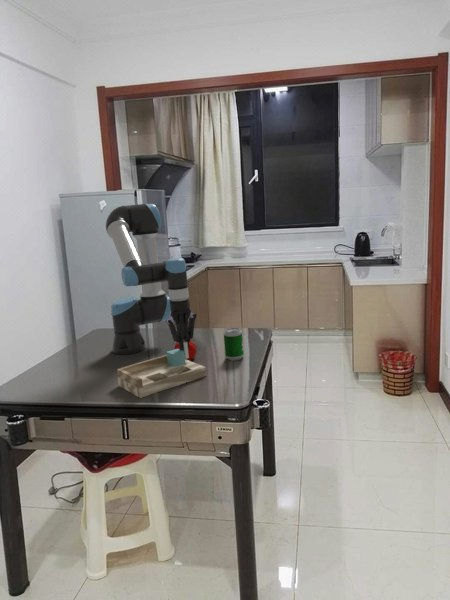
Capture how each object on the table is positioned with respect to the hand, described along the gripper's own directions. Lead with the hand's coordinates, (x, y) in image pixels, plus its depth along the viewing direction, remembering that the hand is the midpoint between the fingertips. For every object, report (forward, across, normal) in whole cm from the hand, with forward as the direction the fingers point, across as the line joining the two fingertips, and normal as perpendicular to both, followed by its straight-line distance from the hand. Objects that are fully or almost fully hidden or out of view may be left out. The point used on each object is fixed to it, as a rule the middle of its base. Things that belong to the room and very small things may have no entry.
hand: (185, 357), depth 199 cm
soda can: (+5, -21, +3) cm, 22 cm away
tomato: (+5, -7, -11) cm, 14 cm away
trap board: (+5, +13, +4) cm, 14 cm away
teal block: (+1, +4, 0) cm, 4 cm away
